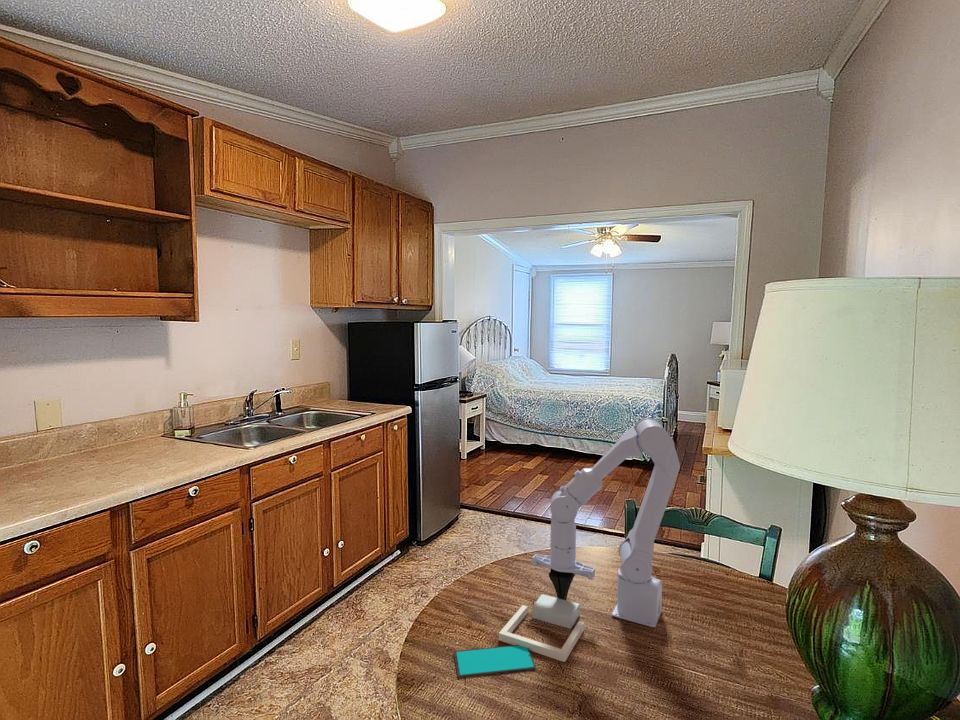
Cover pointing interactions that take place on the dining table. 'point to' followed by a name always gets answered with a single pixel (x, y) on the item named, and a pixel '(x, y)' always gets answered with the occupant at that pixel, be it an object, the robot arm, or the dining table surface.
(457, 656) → the smartphone
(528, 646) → the cream u-shaped bracket
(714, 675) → the dining table surface
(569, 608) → the light gray box
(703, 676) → the dining table surface
